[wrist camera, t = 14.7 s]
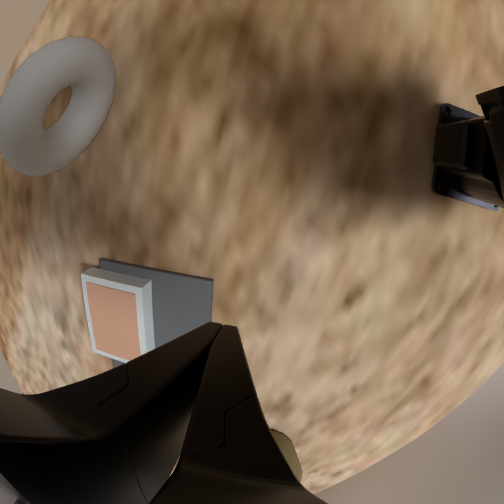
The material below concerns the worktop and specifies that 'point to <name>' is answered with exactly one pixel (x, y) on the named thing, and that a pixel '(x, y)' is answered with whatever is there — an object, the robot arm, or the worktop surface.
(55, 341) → the worktop surface
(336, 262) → the worktop surface
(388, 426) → the worktop surface
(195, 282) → the mat
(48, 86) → the donut
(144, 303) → the tile
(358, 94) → the worktop surface
